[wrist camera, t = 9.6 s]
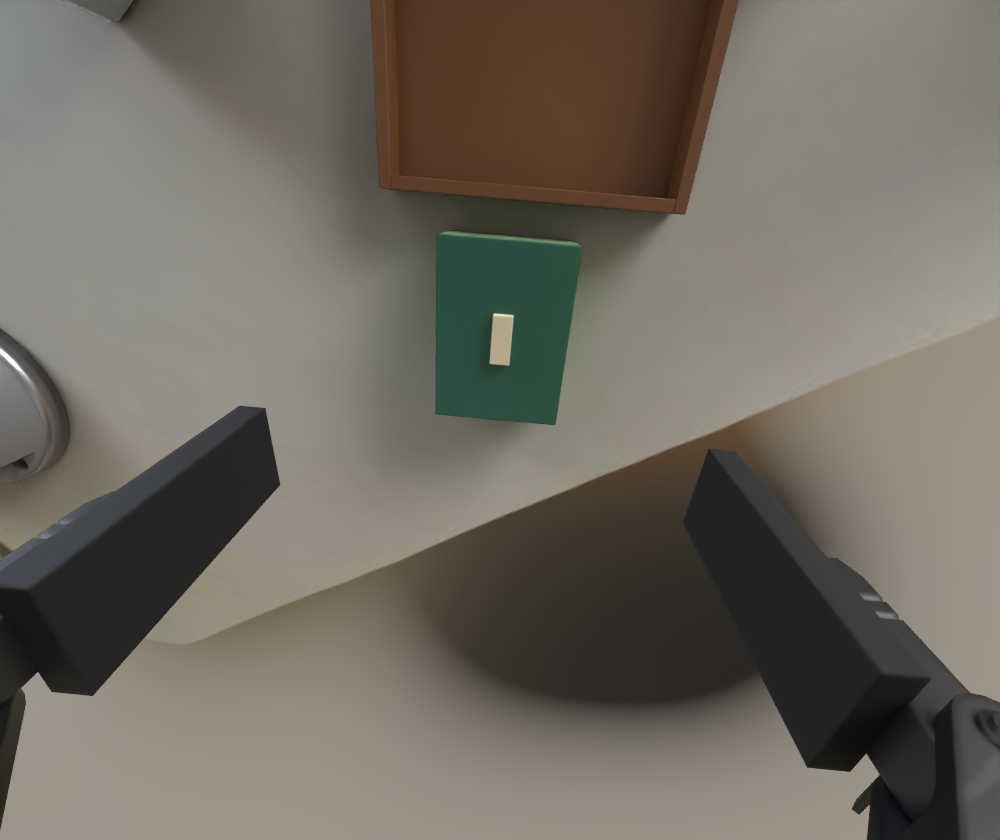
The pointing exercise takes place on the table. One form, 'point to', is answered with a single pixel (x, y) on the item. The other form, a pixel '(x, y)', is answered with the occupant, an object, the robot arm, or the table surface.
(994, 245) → the table surface
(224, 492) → the robot arm
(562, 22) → the tray
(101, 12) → the hard drive box
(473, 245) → the box
